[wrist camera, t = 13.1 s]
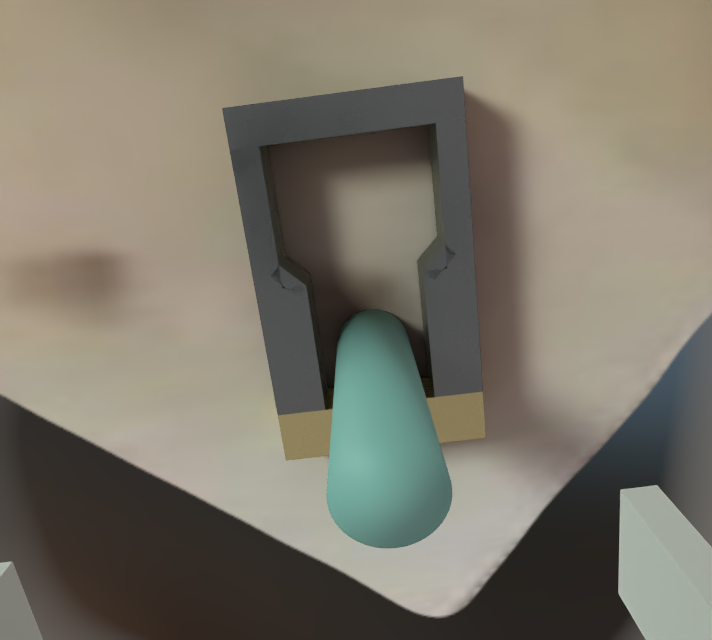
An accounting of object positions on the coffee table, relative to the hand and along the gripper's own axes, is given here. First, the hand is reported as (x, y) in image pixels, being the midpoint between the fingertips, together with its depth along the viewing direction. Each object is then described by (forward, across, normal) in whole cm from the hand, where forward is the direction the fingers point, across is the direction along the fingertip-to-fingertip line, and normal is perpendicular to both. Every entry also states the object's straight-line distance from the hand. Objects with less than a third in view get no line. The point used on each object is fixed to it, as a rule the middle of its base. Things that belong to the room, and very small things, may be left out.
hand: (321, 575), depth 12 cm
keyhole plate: (+23, +2, +1) cm, 23 cm away
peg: (+23, +2, -4) cm, 23 cm away
